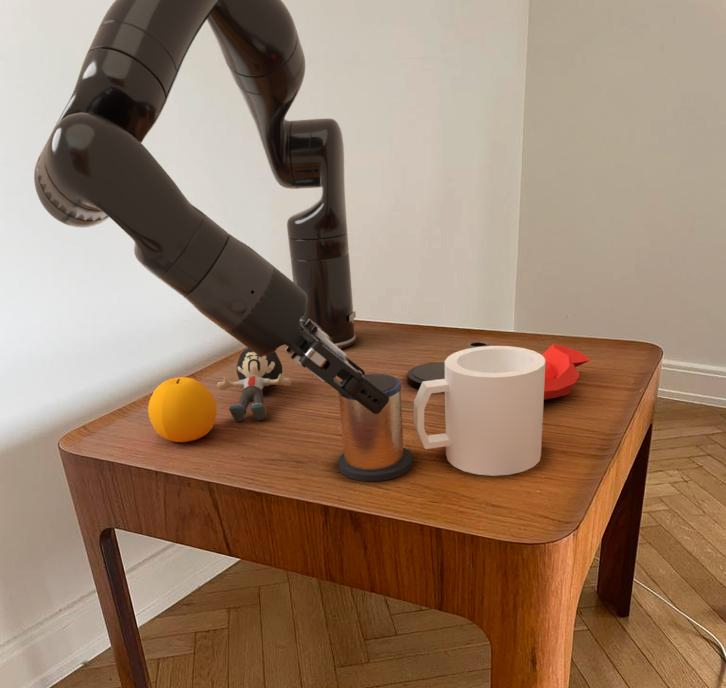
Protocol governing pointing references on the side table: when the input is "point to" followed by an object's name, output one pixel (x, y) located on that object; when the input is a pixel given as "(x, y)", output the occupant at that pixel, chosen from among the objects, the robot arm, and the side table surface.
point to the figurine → (255, 382)
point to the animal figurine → (561, 370)
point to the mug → (488, 409)
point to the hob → (425, 374)
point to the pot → (373, 428)
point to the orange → (182, 409)
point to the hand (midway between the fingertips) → (370, 392)
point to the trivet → (377, 475)
